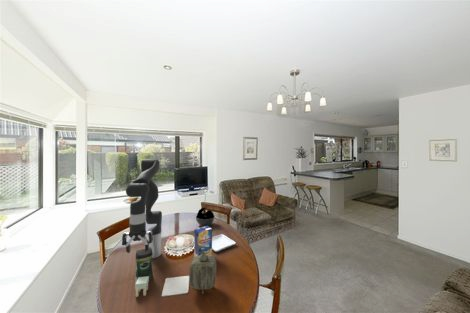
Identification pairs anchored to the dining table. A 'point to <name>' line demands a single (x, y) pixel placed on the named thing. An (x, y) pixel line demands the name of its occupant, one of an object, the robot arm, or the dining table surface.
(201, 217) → the coal bowl
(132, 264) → the dining table surface
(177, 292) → the mat
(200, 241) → the beverage box
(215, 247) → the salad plate
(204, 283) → the tabletop clock
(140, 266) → the coffee jar
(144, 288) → the cube with two prongs
